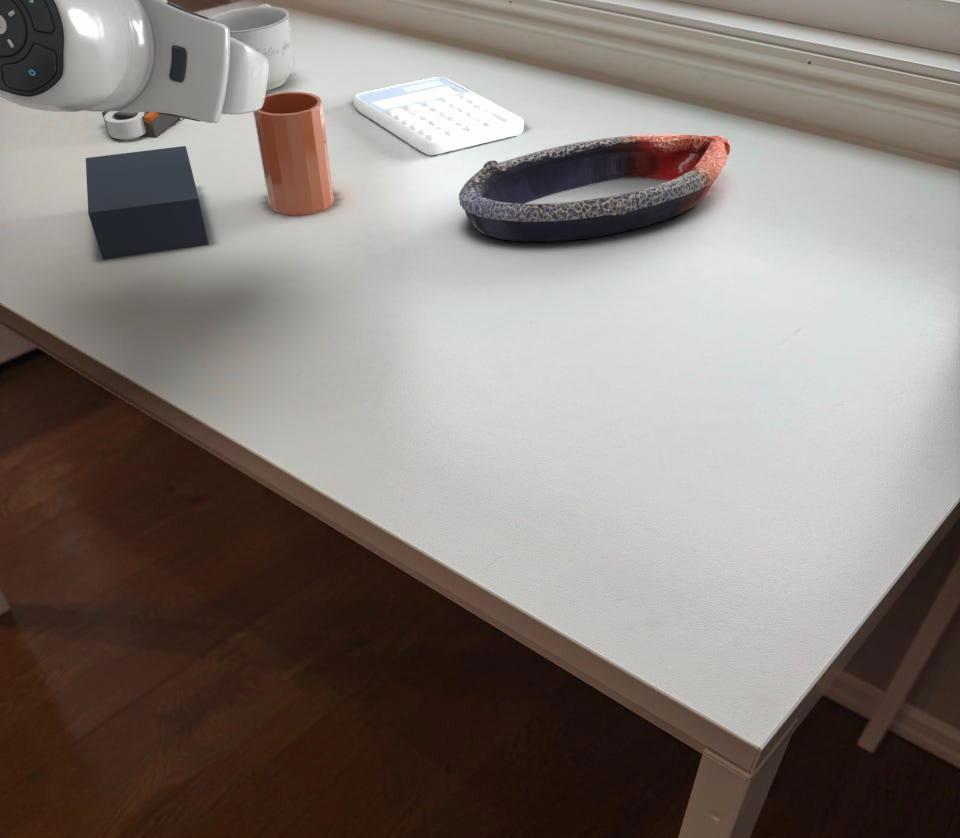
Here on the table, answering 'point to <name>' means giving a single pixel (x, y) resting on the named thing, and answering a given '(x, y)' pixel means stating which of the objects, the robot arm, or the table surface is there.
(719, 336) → the table surface
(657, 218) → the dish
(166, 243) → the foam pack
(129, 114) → the electronic device
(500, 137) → the calculator
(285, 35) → the teacup
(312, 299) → the table surface
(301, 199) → the terracotta cup
